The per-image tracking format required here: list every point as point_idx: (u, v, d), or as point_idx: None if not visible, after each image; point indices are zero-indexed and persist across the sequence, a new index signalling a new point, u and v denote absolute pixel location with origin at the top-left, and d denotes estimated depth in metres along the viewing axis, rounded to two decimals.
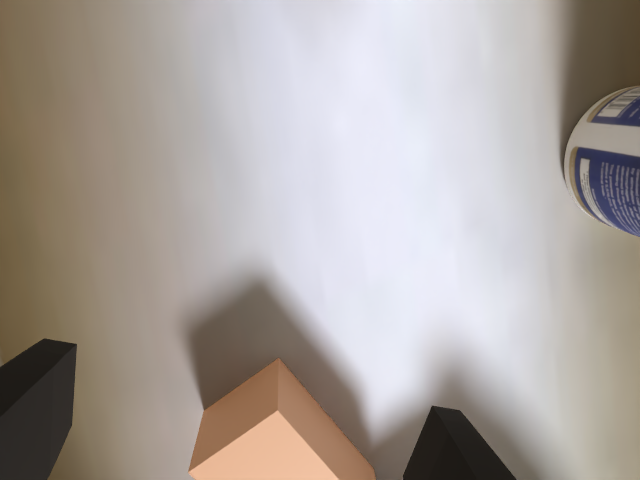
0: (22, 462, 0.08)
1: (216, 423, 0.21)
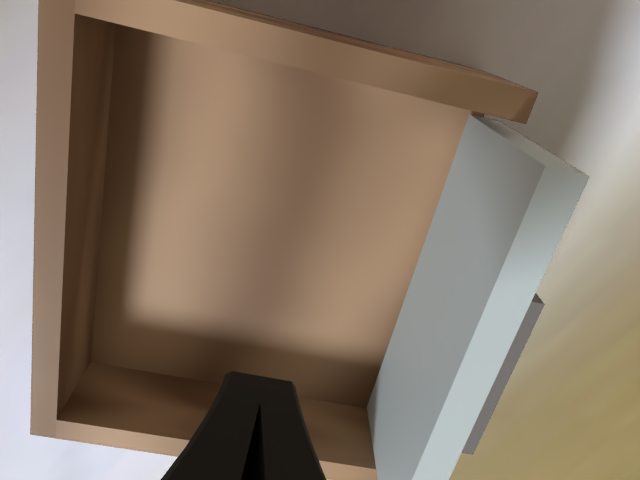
0: None
1: None
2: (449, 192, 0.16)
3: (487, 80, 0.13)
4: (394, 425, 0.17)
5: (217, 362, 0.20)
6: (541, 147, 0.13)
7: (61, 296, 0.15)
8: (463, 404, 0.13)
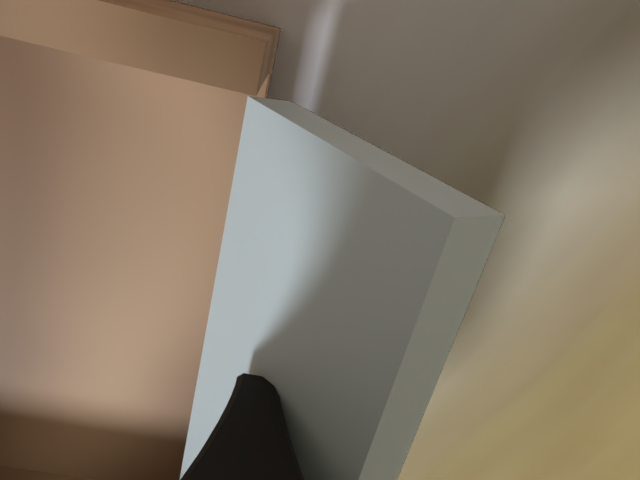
0: None
1: None
2: (241, 219, 0.11)
3: (176, 21, 0.08)
4: None
5: None
6: (388, 154, 0.08)
7: None
8: None
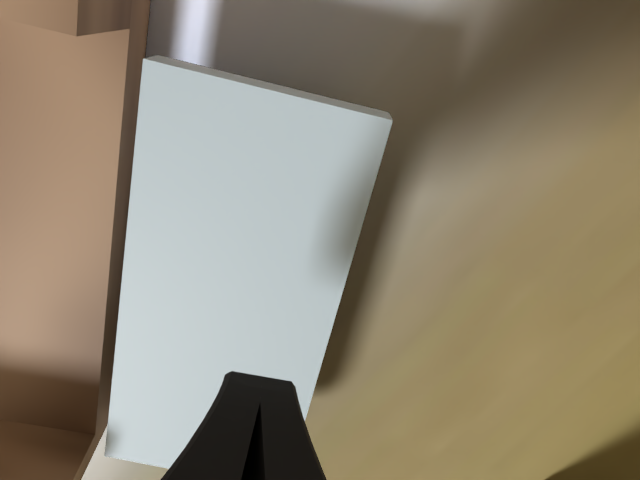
0: None
1: None
2: (161, 169, 0.12)
3: None
4: None
5: None
6: None
7: None
8: None
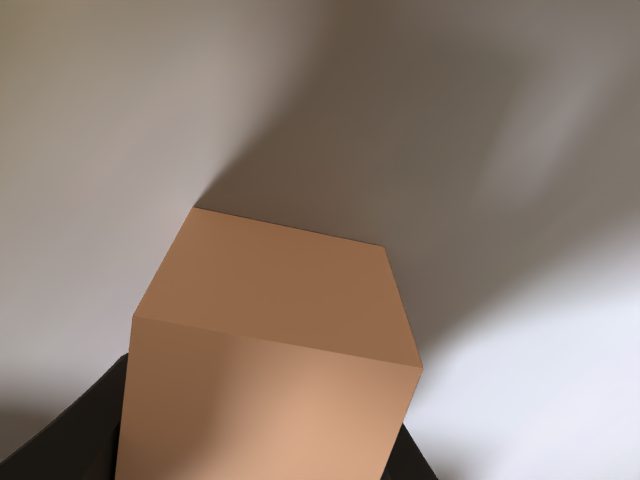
0: None
1: (226, 261, 0.09)
2: None
3: None
4: None
5: None
6: None
7: None
8: None
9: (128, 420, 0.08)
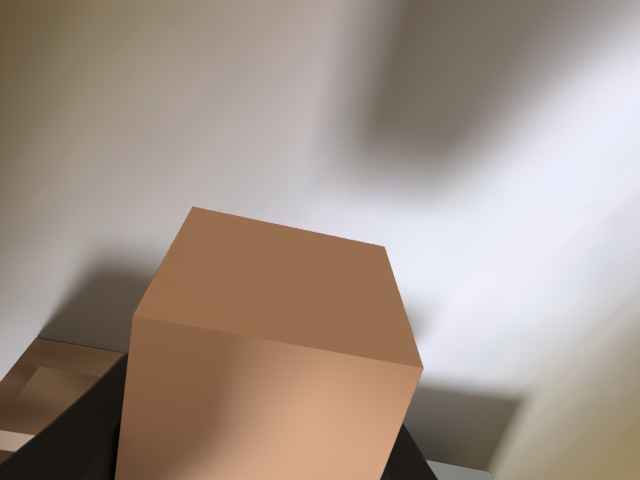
0: None
1: (227, 260, 0.09)
2: None
3: None
4: None
5: None
6: (434, 462, 0.21)
7: None
8: None
9: (128, 419, 0.08)
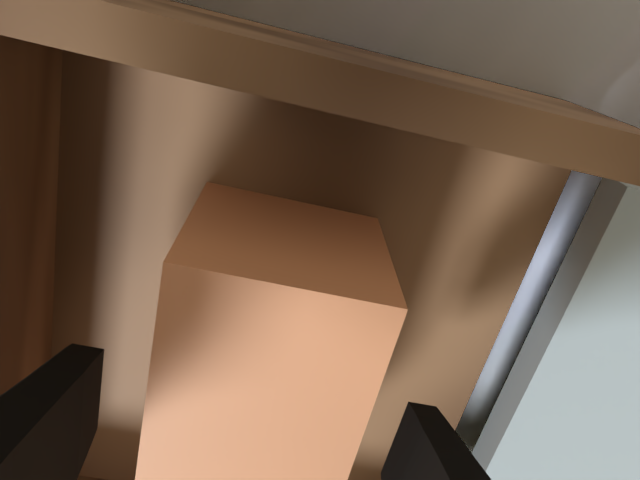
0: (54, 467, 0.09)
1: (239, 224, 0.10)
2: (606, 288, 0.12)
3: (613, 129, 0.09)
4: None
5: None
6: None
7: None
8: None
9: (157, 355, 0.09)
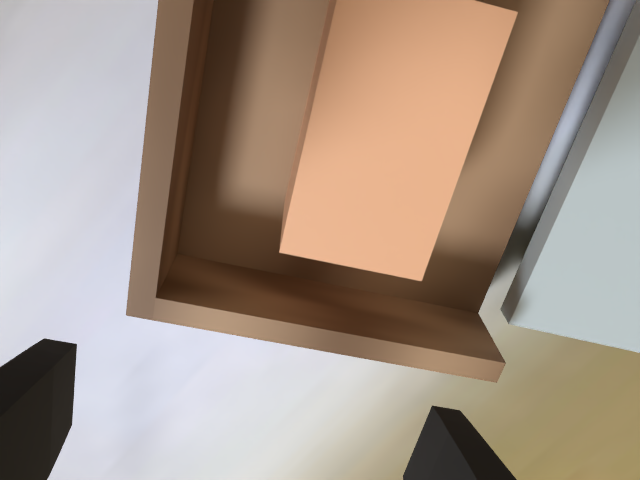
0: (22, 462, 0.08)
1: None
2: None
3: None
4: (617, 292, 0.18)
5: None
6: None
7: (174, 146, 0.14)
8: None
9: (329, 52, 0.12)
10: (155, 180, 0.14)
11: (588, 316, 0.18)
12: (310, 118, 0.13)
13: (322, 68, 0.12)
